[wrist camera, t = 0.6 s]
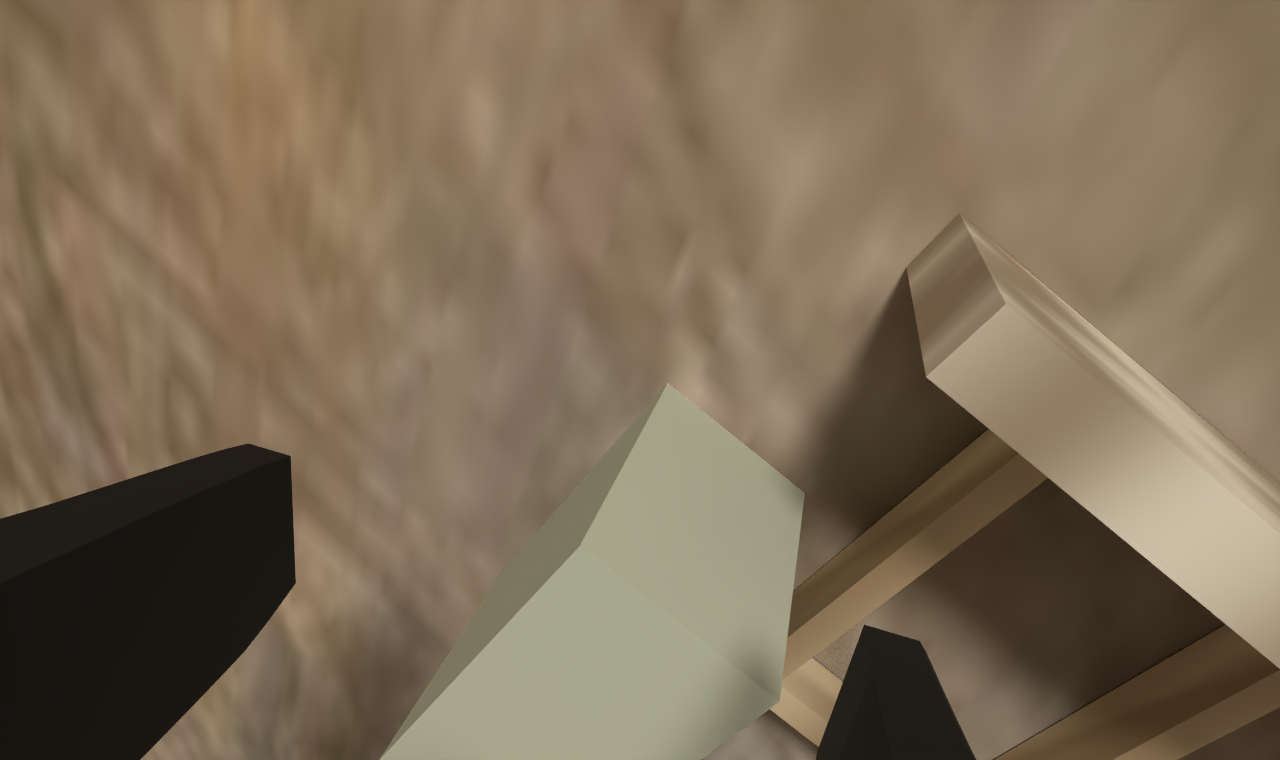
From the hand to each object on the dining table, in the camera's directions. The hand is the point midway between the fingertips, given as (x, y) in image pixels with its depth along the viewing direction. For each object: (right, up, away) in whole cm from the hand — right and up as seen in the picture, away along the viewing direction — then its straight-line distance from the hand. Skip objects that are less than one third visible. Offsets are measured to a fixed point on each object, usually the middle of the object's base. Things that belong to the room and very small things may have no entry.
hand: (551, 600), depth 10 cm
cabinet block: (+1, -1, +12) cm, 12 cm away
